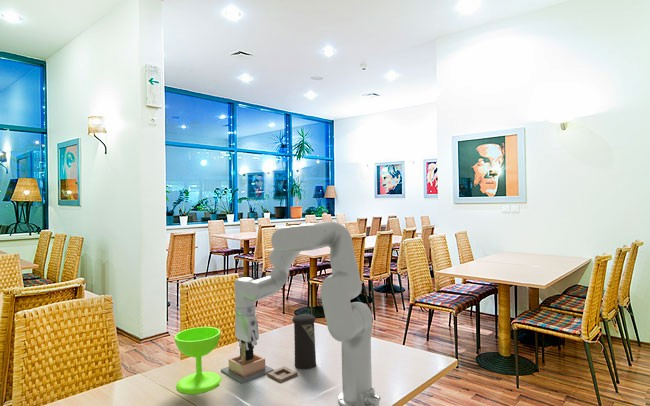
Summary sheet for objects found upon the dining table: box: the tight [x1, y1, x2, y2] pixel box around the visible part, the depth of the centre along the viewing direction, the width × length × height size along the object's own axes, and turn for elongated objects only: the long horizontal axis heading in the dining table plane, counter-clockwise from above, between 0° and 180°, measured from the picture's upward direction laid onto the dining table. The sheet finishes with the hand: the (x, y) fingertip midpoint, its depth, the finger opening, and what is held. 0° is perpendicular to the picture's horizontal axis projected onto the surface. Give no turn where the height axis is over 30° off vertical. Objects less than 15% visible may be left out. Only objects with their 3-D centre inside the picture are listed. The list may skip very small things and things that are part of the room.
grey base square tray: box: [220, 352, 275, 384], centre depth 154 cm, size 15×14×5 cm
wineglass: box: [174, 326, 222, 395], centre depth 146 cm, size 16×16×18 cm
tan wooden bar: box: [241, 342, 252, 365], centre depth 154 cm, size 3×3×9 cm
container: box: [292, 313, 317, 370], centre depth 158 cm, size 9×9×20 cm
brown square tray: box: [266, 365, 298, 383], centre depth 149 cm, size 8×8×2 cm
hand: (246, 357), depth 154 cm, fingers closed on tan wooden bar, 3 cm apart
